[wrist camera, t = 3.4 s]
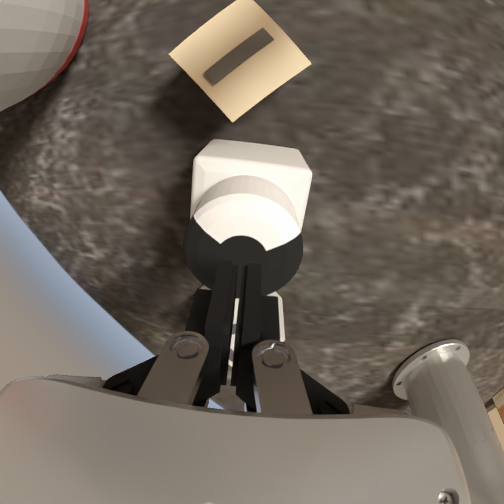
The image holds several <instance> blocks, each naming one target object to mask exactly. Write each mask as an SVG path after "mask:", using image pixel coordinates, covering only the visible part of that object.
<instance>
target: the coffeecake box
mask: <svg viewBox="0 0 504 504" xmlns="http://www.w3.org/2000/svg"><path fill="white" fill-rule="evenodd" d="M492 399H493V401H494V403H495V405H496V408H497V410H498V412H499V414H500V417H501V419H502V421H503V424H504V388H503V389H502V390H501V391H499V392H498V393H497V394H496V395H495V396H494V397H493V398H492Z"/></svg>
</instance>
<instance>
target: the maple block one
mask: <svg viewBox="0 0 504 504" xmlns="http://www.w3.org/2000/svg"><path fill="white" fill-rule="evenodd" d="M169 55H170V56H171V57H172V58H173V59H174V60H175V61H176V62H177V63H178V64H179V65H180V66H181V67H182V68H183V69H184V70H185V72H186V73H187V74H188V75H189V76H190V77H191V78H192V79H193V80H194V81H195V82H196V83H197V84H198V85H199V86H200V87H201V88H202V90H203V91H204V92H205V93H206V94H207V95H208V96H209V97H210V98H211V99H212V100H213V101H214V103H215V104H216V105H217V106H218V107H219V108H220V109H221V110H222V111H223V113H224V114H225V115H226V116H227V117H228V118H229V119H230V120H231V122H232V123H233V122H234V121H235V120H236V119H238V118H239V117H240V116H241V115H243V114H244V113H245V112H246V111H248V110H249V109H250V108H252V107H253V106H254V105H255V104H257V103H258V102H259V101H261V100H262V99H263V98H265V97H266V96H267V95H269V94H270V93H271V92H273V91H274V90H275V89H277V88H278V87H279V86H281V85H282V84H284V83H285V82H286V81H288V80H289V79H291V78H292V77H293V76H295V75H296V74H298V73H299V72H301V71H302V70H303V69H305V68H306V67H308V66H309V65H311V63H310V61H309V60H308V59H307V58H306V57H305V55H304V54H303V53H302V52H301V51H300V50H299V48H298V47H297V46H296V45H295V44H294V43H293V42H292V40H291V39H290V38H289V37H288V36H287V35H286V34H285V33H284V32H283V31H282V29H281V28H280V27H279V26H278V25H277V24H276V23H275V22H274V21H273V20H272V19H271V18H270V17H269V16H268V15H267V14H266V13H265V12H264V11H263V10H262V9H261V8H260V7H259V6H258V5H257V4H256V3H255V2H254V1H253V0H236V1H235V2H234V3H232V4H231V5H229V6H228V7H226V8H225V9H224V10H222V11H221V12H220V13H218V14H217V15H216V16H214V17H213V18H212V19H210V20H209V21H208V22H206V23H205V24H204V25H203V26H201V27H200V28H199V29H198V30H196V31H195V32H194V33H193V34H192V35H190V36H189V37H188V38H187V39H186V40H184V41H183V42H182V43H181V44H180V45H179V46H177V47H176V48H175V49H174V50H173V51H172V52H171V53H170V54H169Z"/></svg>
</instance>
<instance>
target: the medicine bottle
mask: <svg viewBox="0 0 504 504" xmlns="http://www.w3.org/2000/svg"><path fill="white" fill-rule="evenodd" d="M311 179H312V172H311V170H310V168H309V166H308V165H307V163H306V161H305V160H304V158H303V156H302V155H301V153H300V151H299V150H297V149H293V148H286V147H279V146H272V145H265V144H257V143H249V142H240V141H231V140H221V139H213V140H212V141H210V142H209V143H208V144H207V145H206V146H205V147H204V148H203V150H202V151H201V152H200V153H199V154H198V155H197V156H196V157H195V158H194V160H193V175H192V192H191V213H190V221H189V223H188V226H187V228H186V231H185V235H184V242H183V247H184V255H185V259H186V261H187V264H188V266H189V268H190V270H191V272H192V273H193V274H194V276H195V277H196V278H197V279H198V280H199V281H200V282H201V283H202V284H203V285H205V286H206V287H207V288H209V289H211V290H213V287H214V283H215V278H216V274H217V270H218V265H219V261H220V259H226V260H233V264H238V275H237V286H236V298H237V299H239V293H240V284H241V275H242V266H243V265H248V262H255V263H262V273H261V295H269V294H271V293H273V292H275V291H277V290H279V289H280V288H282V287H283V286H285V285H286V284H287V283H288V282H289V281H290V280H291V279H292V277H293V276H294V275H295V273H296V271H297V270H298V268H299V265H300V263H301V259H302V255H303V241H302V236H301V229H302V224H303V219H304V214H305V209H306V204H307V199H308V194H309V189H310V184H311Z"/></svg>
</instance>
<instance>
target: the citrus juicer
mask: <svg viewBox="0 0 504 504" xmlns="http://www.w3.org/2000/svg"><path fill="white" fill-rule="evenodd" d="M88 16H89V4H88V0H0V111H2V110H4V109H6V108H8V107H10V106H12V105H14V104H16V103H18V102H20V101H22V100H24V99H25V98H27V97H29V96H31V95H33V94H35V93H37V92H38V91H39V90H41V89H42V88H43V87H45V86H46V85H47V84H49V83H50V82H51V81H53V80H54V79H55V78H56V77H57V76H58V75H59V74H60V73H61V72H62V71H63V70H64V69H65V68H66V67H67V65H68V64H69V63H70V62H71V60H72V59H73V57H74V55H75V54H76V52H77V51H78V49H79V47H80V44H81V42H82V40H83V38H84V34H85V31H86V28H87V23H88Z"/></svg>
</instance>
